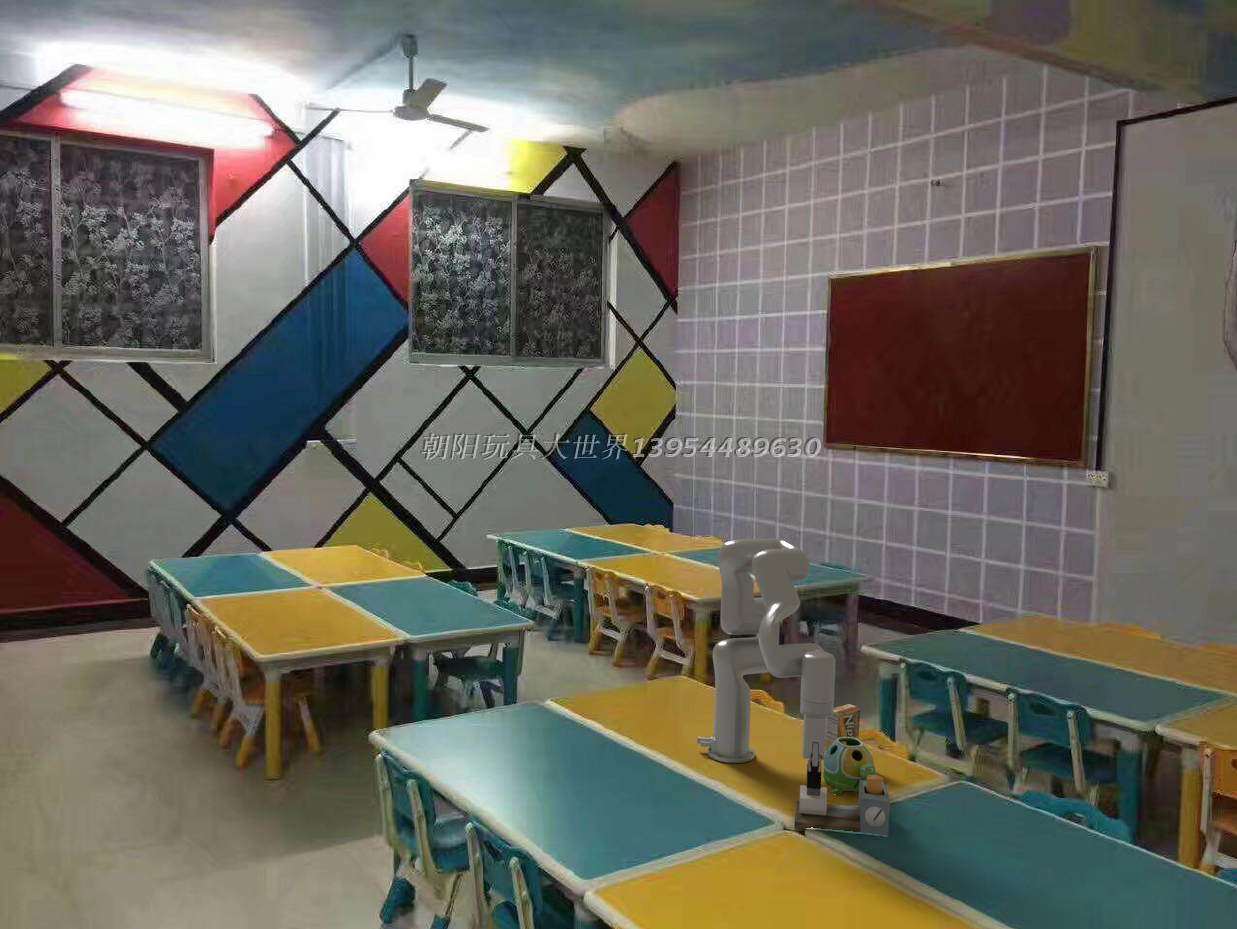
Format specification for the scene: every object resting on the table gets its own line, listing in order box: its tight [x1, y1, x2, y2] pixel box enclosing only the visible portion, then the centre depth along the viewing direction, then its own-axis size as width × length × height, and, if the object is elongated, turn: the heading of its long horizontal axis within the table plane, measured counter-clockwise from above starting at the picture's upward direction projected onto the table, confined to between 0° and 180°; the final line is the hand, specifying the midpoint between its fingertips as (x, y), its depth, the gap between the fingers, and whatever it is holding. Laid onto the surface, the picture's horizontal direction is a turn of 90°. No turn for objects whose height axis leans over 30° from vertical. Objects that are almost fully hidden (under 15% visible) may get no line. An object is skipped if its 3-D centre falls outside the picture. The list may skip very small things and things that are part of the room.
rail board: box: [793, 800, 861, 832], centre depth 238 cm, size 14×12×4 cm
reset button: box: [866, 774, 884, 795], centre depth 235 cm, size 4×4×4 cm
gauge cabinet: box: [857, 780, 891, 836], centre depth 236 cm, size 6×12×8 cm, turn 169°
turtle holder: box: [822, 737, 878, 796], centre depth 255 cm, size 12×18×12 cm
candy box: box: [825, 703, 861, 753], centre depth 273 cm, size 9×4×15 cm, turn 129°
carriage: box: [799, 759, 828, 815], centre depth 238 cm, size 6×8×11 cm
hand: (813, 784), depth 238 cm, fingers closed on carriage, 3 cm apart
